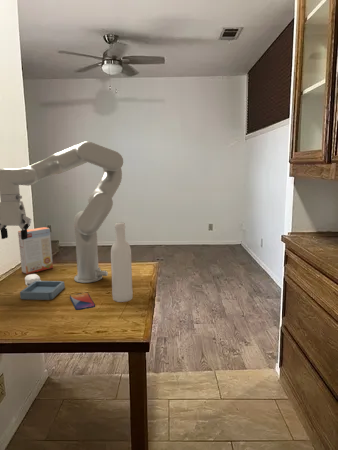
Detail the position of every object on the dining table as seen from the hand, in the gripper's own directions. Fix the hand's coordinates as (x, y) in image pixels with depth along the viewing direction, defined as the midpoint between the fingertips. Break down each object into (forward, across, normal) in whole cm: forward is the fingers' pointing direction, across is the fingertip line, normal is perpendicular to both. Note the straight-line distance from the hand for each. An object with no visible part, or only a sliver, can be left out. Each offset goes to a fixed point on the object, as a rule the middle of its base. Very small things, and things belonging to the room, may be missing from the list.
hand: (14, 238), depth 150 cm
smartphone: (+22, -35, +9) cm, 42 cm away
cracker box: (+22, +7, -24) cm, 33 cm away
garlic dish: (+22, -14, +4) cm, 26 cm away
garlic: (+22, -2, -6) cm, 23 cm away
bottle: (+22, -49, +3) cm, 54 cm away
